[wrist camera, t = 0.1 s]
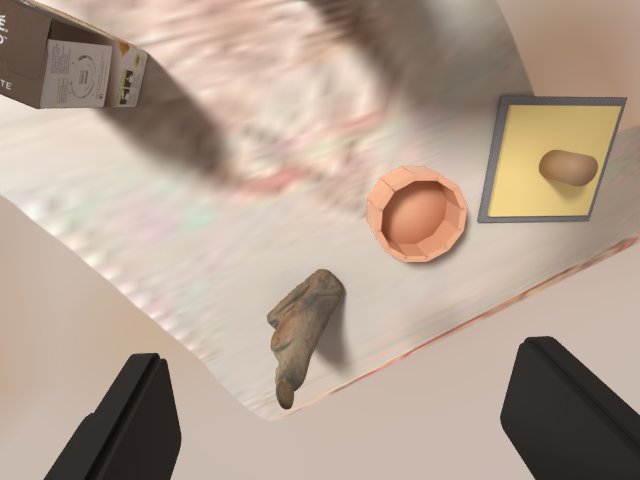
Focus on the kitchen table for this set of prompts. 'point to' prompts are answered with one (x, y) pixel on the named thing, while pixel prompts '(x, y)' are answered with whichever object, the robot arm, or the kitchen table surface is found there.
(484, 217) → the mat
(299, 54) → the kitchen table surface
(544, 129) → the sheet
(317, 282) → the worn brown figurine
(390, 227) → the bowl
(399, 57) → the kitchen table surface
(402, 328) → the kitchen table surface
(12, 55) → the coffee box
